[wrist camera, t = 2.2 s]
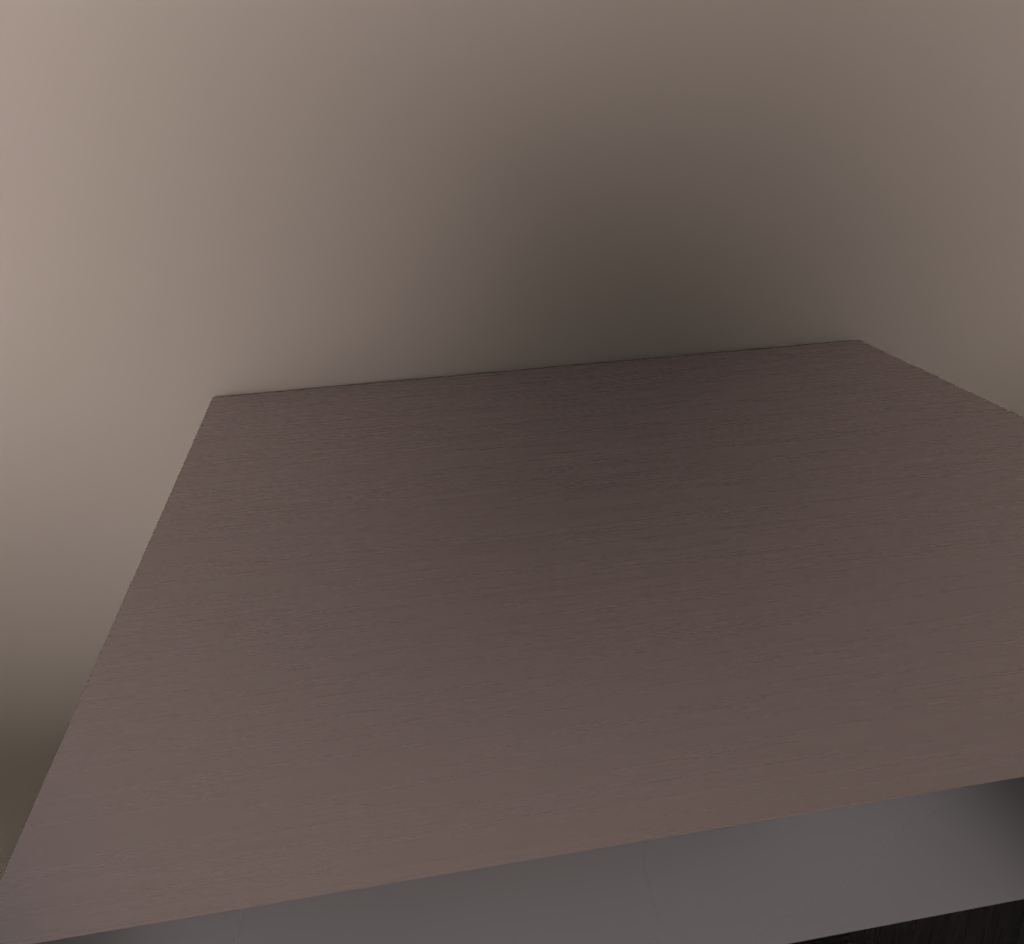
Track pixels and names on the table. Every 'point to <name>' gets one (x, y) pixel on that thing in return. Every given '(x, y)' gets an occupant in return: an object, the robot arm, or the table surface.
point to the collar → (561, 669)
